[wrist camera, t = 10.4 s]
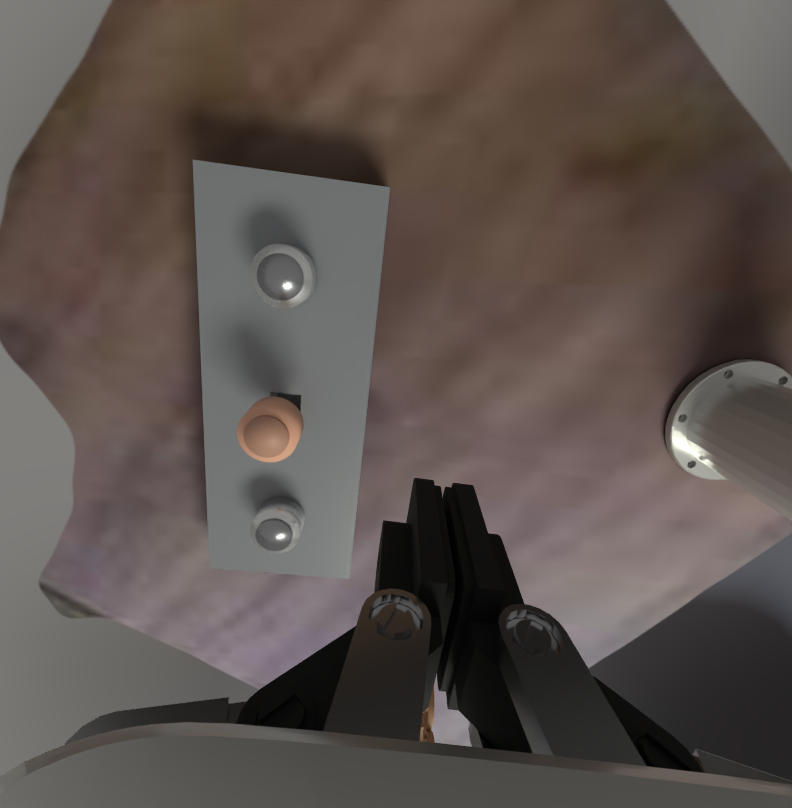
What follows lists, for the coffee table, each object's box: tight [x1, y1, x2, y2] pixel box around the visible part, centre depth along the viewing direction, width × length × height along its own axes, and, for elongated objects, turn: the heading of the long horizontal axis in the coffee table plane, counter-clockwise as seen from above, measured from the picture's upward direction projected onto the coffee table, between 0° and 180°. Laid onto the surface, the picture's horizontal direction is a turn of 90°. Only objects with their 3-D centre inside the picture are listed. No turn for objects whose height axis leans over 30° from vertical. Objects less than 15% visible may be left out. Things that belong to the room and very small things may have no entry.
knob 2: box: [250, 497, 305, 554], centre depth 39 cm, size 4×4×6 cm
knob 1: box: [250, 244, 318, 309], centre depth 32 cm, size 4×4×6 cm
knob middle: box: [237, 396, 304, 462], centre depth 32 cm, size 4×4×6 cm
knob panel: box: [193, 160, 390, 579], centre depth 37 cm, size 14×36×4 cm, turn 173°
